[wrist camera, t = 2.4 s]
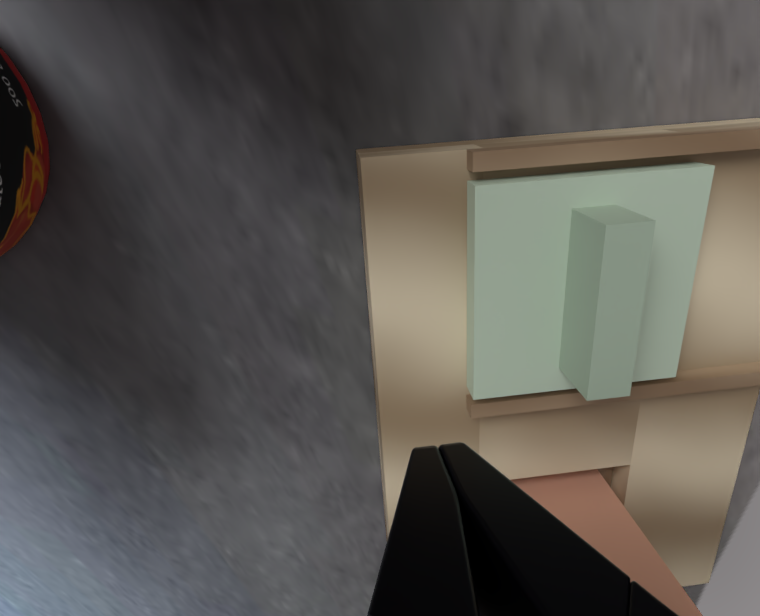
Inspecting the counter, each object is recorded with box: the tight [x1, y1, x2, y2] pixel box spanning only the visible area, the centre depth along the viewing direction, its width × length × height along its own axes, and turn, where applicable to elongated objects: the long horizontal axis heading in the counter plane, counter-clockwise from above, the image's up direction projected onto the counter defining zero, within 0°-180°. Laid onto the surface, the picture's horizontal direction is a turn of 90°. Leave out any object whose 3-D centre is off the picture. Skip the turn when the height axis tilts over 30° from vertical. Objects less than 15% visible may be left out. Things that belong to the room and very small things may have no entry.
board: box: [356, 118, 760, 587], centre depth 18 cm, size 18×13×3 cm
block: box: [511, 469, 702, 616], centre depth 18 cm, size 4×4×6 cm
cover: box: [467, 162, 715, 401], centre depth 14 cm, size 6×6×3 cm
